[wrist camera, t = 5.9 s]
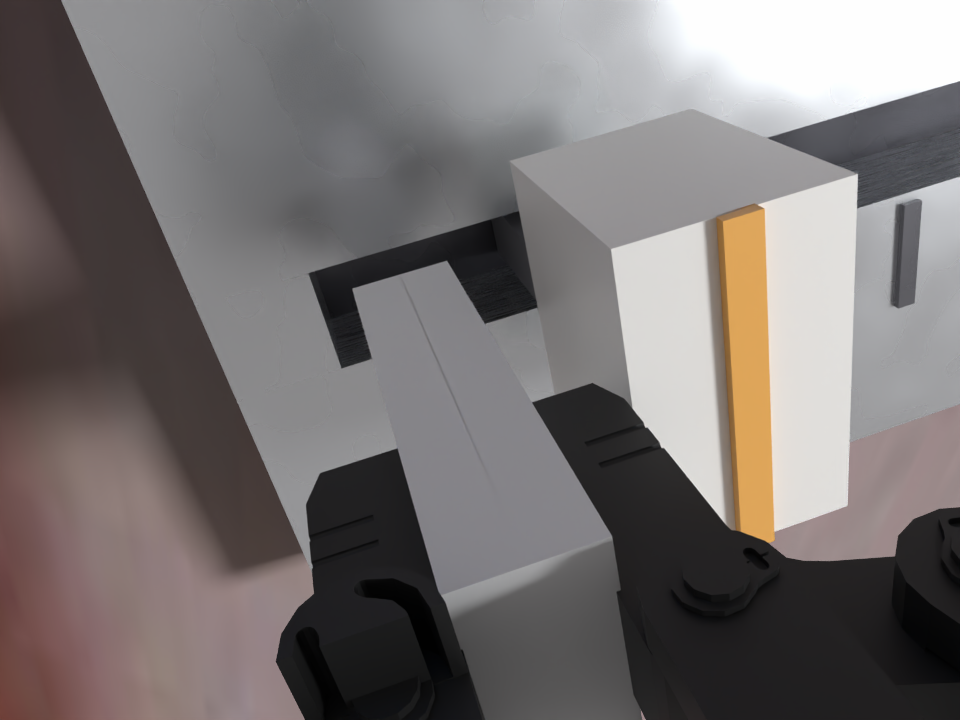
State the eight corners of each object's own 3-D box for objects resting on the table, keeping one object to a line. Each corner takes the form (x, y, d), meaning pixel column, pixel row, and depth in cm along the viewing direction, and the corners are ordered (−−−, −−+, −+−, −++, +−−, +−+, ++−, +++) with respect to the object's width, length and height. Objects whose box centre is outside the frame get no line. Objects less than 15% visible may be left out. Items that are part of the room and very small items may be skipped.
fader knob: (452, 111, 16) (616, 254, 9) (596, 71, 16) (866, 176, 9) (501, 332, 18) (659, 581, 11) (625, 293, 18) (854, 512, 11)
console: (61, -81, 13) (22, -83, 11) (1466, -411, 16) (1665, -468, 14) (324, 547, 20) (333, 626, 18) (1267, 231, 23) (1377, 263, 21)
